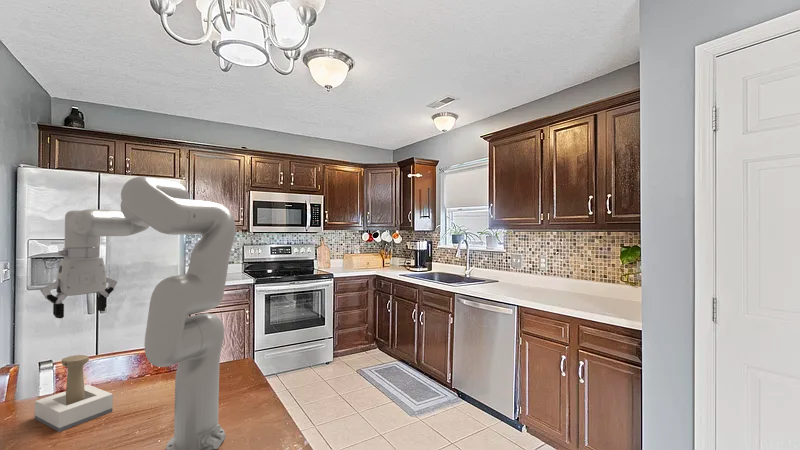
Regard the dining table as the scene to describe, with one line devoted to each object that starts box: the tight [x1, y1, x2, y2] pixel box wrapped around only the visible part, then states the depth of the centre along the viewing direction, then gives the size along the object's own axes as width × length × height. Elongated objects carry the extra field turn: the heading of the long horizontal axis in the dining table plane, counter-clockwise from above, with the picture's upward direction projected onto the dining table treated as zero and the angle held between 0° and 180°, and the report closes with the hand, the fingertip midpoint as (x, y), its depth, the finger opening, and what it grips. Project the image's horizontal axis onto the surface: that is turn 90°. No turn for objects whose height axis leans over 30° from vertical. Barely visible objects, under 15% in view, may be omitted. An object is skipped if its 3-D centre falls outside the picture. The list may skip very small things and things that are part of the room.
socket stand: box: [34, 383, 114, 433], centre depth 103 cm, size 14×12×5 cm
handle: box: [61, 354, 90, 405], centre depth 103 cm, size 5×6×15 cm
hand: (80, 314), depth 103 cm, fingers open, 9 cm apart
